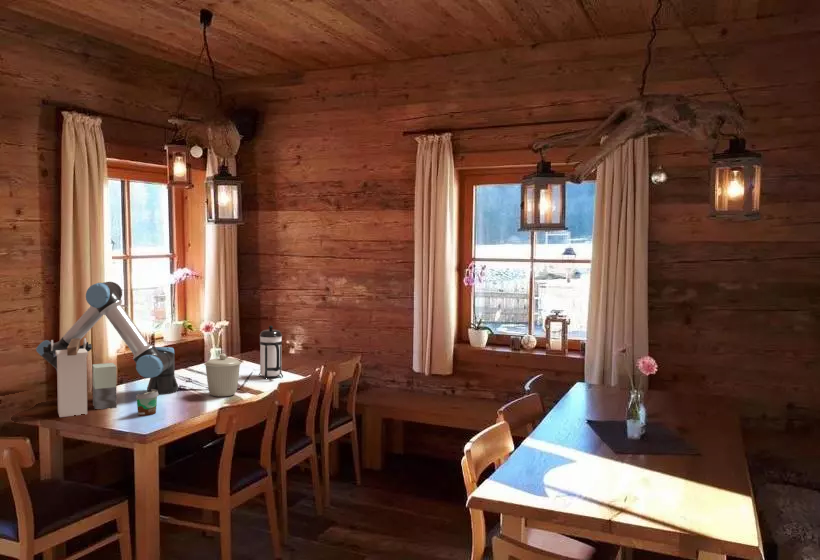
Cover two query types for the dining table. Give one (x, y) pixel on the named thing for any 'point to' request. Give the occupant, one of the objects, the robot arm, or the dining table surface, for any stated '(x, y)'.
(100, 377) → the tower top block
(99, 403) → the tower base block
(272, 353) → the coffee press
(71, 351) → the walnut bar
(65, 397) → the tall stand
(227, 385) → the canister
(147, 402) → the food container
